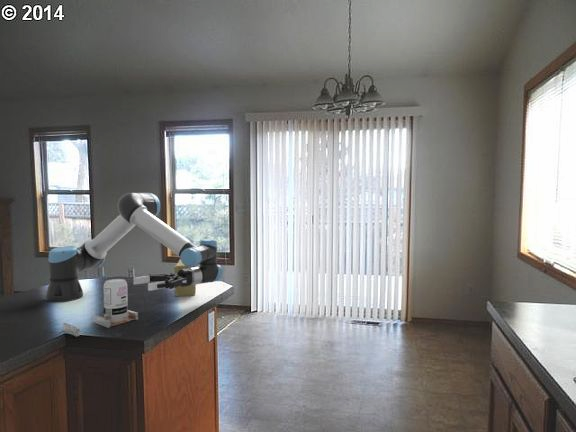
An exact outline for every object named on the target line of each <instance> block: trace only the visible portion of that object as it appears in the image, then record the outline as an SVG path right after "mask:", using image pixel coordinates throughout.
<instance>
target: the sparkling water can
mask: <svg viewBox="0 0 576 432" xmlns="http://www.w3.org/2000/svg"><path fill="white" fill-rule="evenodd" d="M102 290H103V318H106V319H109V320H110V323H117V322H122V321H124V320H126V318H127V317H128V310H129V309H128V307H129V306H128V304H129V303H128V282H127V281H126V279H124V278H113V279H107V280H105V281H104V284H103V289H102Z"/></svg>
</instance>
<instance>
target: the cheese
mask: <svg viewBox="0 0 576 432" xmlns="http://www.w3.org/2000/svg"><path fill="white" fill-rule="evenodd" d="M193 267H196V266H191V267H188V266H185V265H184V264H183V263H182V261H181V258H179V260H178V262H177V264H175V265H174V268H173V274H175V275H177V273H178V271H179V270H180V269H187V268H193ZM196 286H197V285H196ZM196 286H194V285H190V286H185V287H181V286H178V287H175V288H174V296H175V297H188V296H189V297H191V295H192V296H195V295H196Z"/></svg>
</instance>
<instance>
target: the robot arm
mask: <svg viewBox="0 0 576 432" xmlns="http://www.w3.org/2000/svg"><path fill="white" fill-rule="evenodd" d="M116 208H117V212H118V213H119V215H117V217H115V218H114V220H112V221H111V222H110V223H109V224H108V225H107V226H106V227H105V228H104V229H102V231H101V232H100V233H99V234H97V235H96V236H95V237H94V238H93V239H87V240H85V242H84V243H82V244H81V246H79V247H77V246H76V245H64V246H57V247H54V248H52V249H51V250H49V252H48V258H47V260H48V261H47V262H48V279H49V280H48V281H49V282H48V286H47V289H46V292H45V296H44V300H45V302H50V301H51V302H53V303H55V302H56V303H57V302H59V303H60V302H68V301H73V300H74V301H75V300H77V299H80V298H82V297H83V296H84V291H83V288H82V285H81V283H80V280H79V272H84V271H87V270H94V269H97V268H99V267H100V266H102V265H103V264H104V262H105V260H106V256H107V252H108V251H109V250H110V249H112V247H114V246H115V245H116V244H117V243H118V242H120V240H121V239H122V238H123V237H125V236H126V235H127V234H128V233H129V232H130V231H131V230H132V229H134V227H136V226H137V227H138V228H140V229H142V230H143V231H144V232H145V233H147V234H148V235H149V236H151V237H152V238H153V239H155V240H157V241H158V242H159V243H161V244H162V245H163V246H164V247H166V248H167V249H168V250H170V251H172V253H175V254H176V255H177V256H178V257H180V258H179V259H181V261H182V263H183V264H184V265H185V266H188V267H191V266H195V267H193V268H187V269H180V270H179V271H178V273H177V275H175V274H174V273H172V272H169V273H153V274H151V273H150V274H147V275H143V276H137V277H133V285H135V286H136V285H141V284H142V285H143V284H147V291H148V292H149V291H150V292H151V291H154V290H155V291H156V290H161V289H169V290H172V289H175V287H178V286H181V287H185V286H190V285H194V286H197V285H200V284H201V285H202V284H207V283H213V282H214V283H215V282H218V281H220V280H221V279H222V277H223V272H224V271H223V268H222V267H221V265H220V264H218V241H217V240H216V239H215V238H204V239H201V240H200V241H199V245H195V244H194V243H193V242H191V241H190V240H189V239H187V238H186V237H184V236H183V235H181V233H179V232H177V231H176V230H175V229H173V228H172V227H170V226H169V225H168V224H166V223H165V222H164V221H163V220H161V219H159V218H158V217H156V216H158V215H159V213H160V212H161V201H160V199H159V198H158V196H157V195H155V193H151V192H128V193H125V194H123V195H122V196H120V198H119V199H118V201H117V207H116ZM51 302H50V303H51Z"/></svg>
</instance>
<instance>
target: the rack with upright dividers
mask: <svg viewBox="0 0 576 432" xmlns="http://www.w3.org/2000/svg"><path fill="white" fill-rule="evenodd" d="M92 316H93V323H95V324H96V325H99V326H102V327H105V328H106V329H108V328H111V327H113V326H116V325H121V324H124V323H128V322H131V321H134V320H135V321H137V320H139V312H136V311H134V310H133V311H132V310H129V309H128V317H127V318H126V320H124V321H122V322H117V323H110V320H109V319H106V318H104V316H99V315H98V314H97V315H96V314H94V315H92ZM61 325H62V329H61V330H62V331H63V332H65V333H67V334H69V335H71V336H74V337H80V328H79V327H77V326H74V325H73V324H70V323H67V322H63V323H62V324H61Z"/></svg>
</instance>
